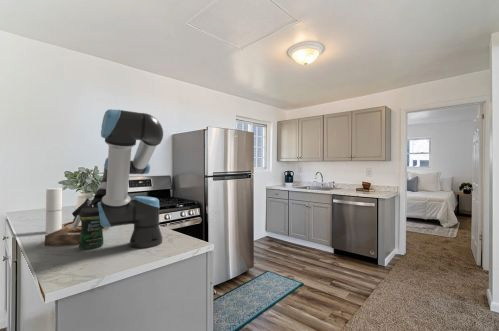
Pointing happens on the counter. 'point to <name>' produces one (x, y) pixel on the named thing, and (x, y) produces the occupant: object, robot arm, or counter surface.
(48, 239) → the cradle
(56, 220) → the cylindrical container
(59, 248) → the counter surface
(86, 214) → the coffee jar
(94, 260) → the counter surface
